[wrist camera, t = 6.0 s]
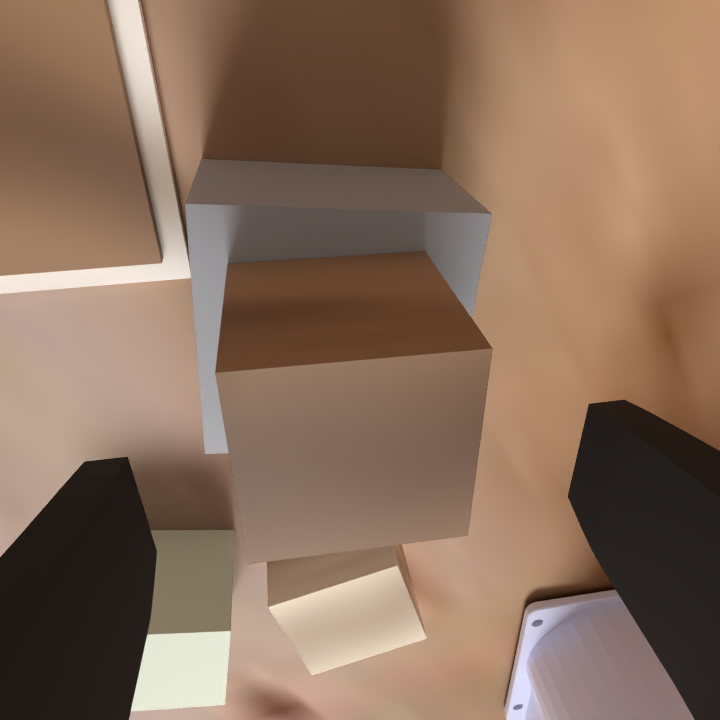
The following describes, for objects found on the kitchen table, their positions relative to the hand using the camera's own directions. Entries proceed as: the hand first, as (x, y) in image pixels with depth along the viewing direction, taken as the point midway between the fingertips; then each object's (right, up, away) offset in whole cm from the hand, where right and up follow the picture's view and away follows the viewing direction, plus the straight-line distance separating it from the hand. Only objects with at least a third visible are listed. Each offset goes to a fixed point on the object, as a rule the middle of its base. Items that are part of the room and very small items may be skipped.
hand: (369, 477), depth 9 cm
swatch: (-8, +7, +4) cm, 11 cm away
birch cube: (-1, -4, +12) cm, 13 cm away
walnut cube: (-1, +2, +3) cm, 4 cm away
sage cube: (-7, -6, +12) cm, 15 cm away
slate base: (-1, +4, +7) cm, 8 cm away
